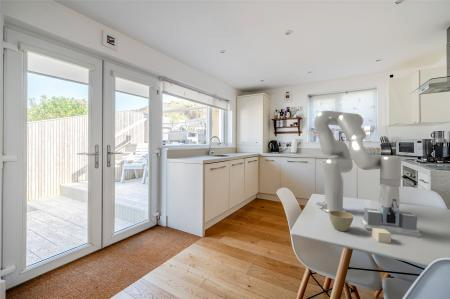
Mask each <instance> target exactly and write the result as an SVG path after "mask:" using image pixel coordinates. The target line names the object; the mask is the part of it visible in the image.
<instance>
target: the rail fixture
mask: <svg viewBox="0 0 450 299" xmlns="http://www.w3.org/2000/svg"><path fill="white" fill-rule="evenodd" d="M363 211H364V212H363V219H362V220H360V224H361V225H362V227H363V228H364V229H365V230H366V231H370V232H373V228H379V229H385V230H387V231H388V232H390V233H391V235H392V234H393V235H401V236H410V237H417V238H422V233H420V231H419V229H418V227H417V226H418V216H416V215H415V214H413V213H411V212H409V211H400V210H399V225H392V224H383V223H382V222H381V213H380V212H379V210H378V209H377V208H370V207H369V208H367V207H364V210H363Z"/></svg>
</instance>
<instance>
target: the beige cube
mask: <svg viewBox="0 0 450 299" xmlns="http://www.w3.org/2000/svg"><path fill="white" fill-rule="evenodd" d="M371 235H372V238H373V239H374V240H376V242H378V243H386V244H387V243H388V244H391V243H392V242H391V241H392V233H390V232H388V231H387V230H385V229H379V228H373V231H372V234H371Z"/></svg>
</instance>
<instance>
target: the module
mask: <svg viewBox="0 0 450 299" xmlns="http://www.w3.org/2000/svg"><path fill="white" fill-rule="evenodd" d="M390 208H393V207H392V206H391V207H390ZM391 210H392V209H390V211H391ZM378 211H379V212H380V213H381V222H382V223H383V224H392V223H387V214H388V208H385V207H384V206H382V205H379V210H378ZM399 211H400V209H399V208H398V212H396V223H395V224H392V225H399Z"/></svg>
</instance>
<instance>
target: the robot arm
mask: <svg viewBox="0 0 450 299" xmlns="http://www.w3.org/2000/svg"><path fill="white" fill-rule="evenodd" d="M363 124H364V118H363V117H362V116H361V114H358V113H354V112H344V111H337V110H336V111H335V110H322V111H320V112H319V113H317V115H316V116H315V117H314V121H313V125H314V130H315V131H316V132H315V133H316V134H317V138H318V141H319V145H320V148H321V152H322V154H323V155H324V156H327V157H329V158H327V159H326V160H325V161H324V163H323V172H324V200H323V201H321V202H320V201H316V203H315V204H316V206H318V207H321V210H322V211H323V212H325V213H328V214H329V212H330V211H343V212H347V211H346V208H344V178H343V175H342V174H346V173H349V172H351V171H352V170H353V168H354V166H353V164H355V165H356V166H357V167H358V168H359V169H360V170H363V171H373V170H379V185H380V187H379V191H378V203H379V204H380V206H384V207H385V208H388V214H387V223H392V224H395V223H396V212H398V209H399V208H400V188H401V184H402V183H401V182H402V181H401V180H402V158H401V156H398V155H382V154H379V153H378V154H376V153H375V154H374V153H373V154H371V153H370V154H369V153H368V151H367V150H366V149H365V146H364V144H363V140H365V139H366V138H367V134H366V132H365V131H364V129H363V127H362V126H363ZM330 126H338V127H339V128H340V130H341V131H342V133H343V135H344V136H345V138H346V139H347V140H348V145H347V143H345V142H344V141H342V140H340V139H339V140H336V138H335V136H334V132H333V131H332V129H331V128H330ZM390 207H393V208H390ZM390 209H392V210H391V211H390Z"/></svg>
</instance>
